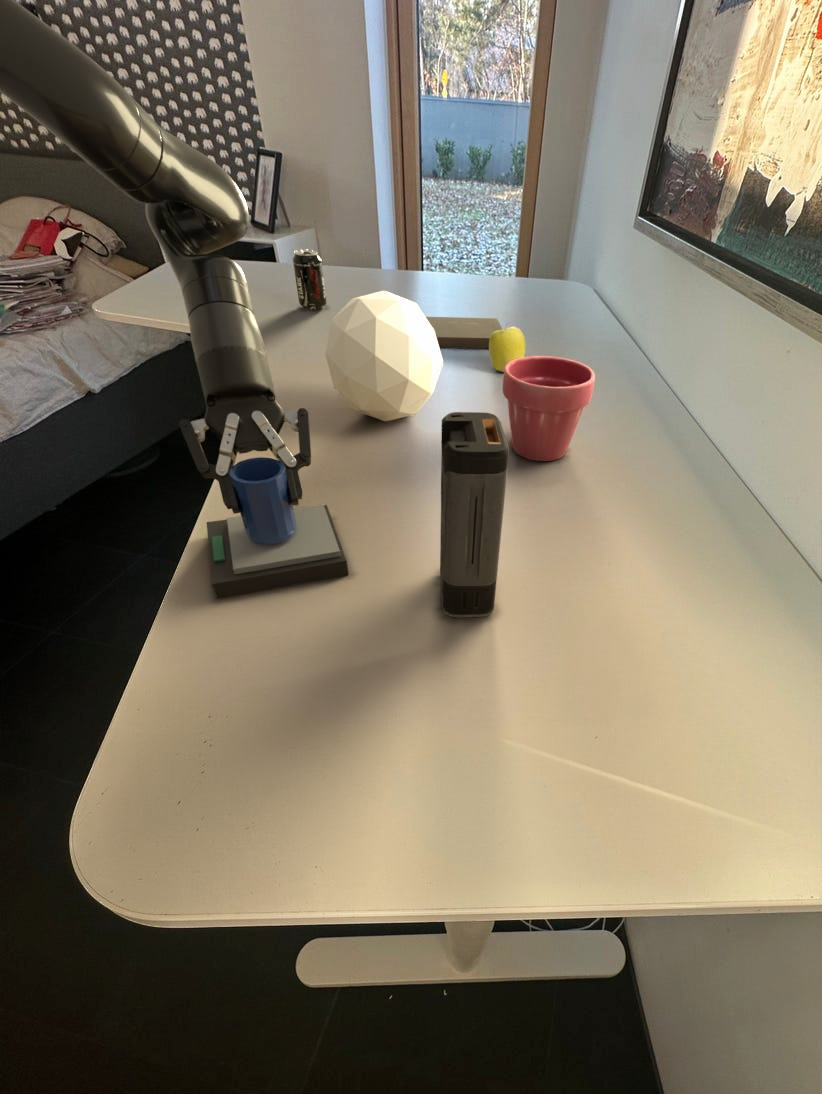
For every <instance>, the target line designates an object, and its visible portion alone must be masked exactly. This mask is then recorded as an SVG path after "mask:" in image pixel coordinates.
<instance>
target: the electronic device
mask: <svg viewBox="0 0 822 1094" xmlns="http://www.w3.org/2000/svg"><path fill="white" fill-rule="evenodd" d="M440 434H441V436H440V437H441V441H440V443H441V445H440V446H441V451H440V452H441V457H440V458H441V462H440V463H441V464H440V550H439V553H440V555H439V556H440V557H439V559H440V561H439V563H440V564H439V570H440V571H439V579H440V592H441V604H442V605H441V606H442V610H443V612H444V613H445V614H446V615H447V616H450V617H452V618H483V617H487V616H489V615H491V614H492V613H493V612H494V611H495V610H494V608H495V599H496V590H497V581H498V580H497V579H498V571H499V570H498V569H499V560H500V551H501V550H500V549H501V540H502V539H501V538H502V530H503V518H504V510H505V509H504V508H505V498H506V490H507V489H506V488H507V477H508V468H509V458H510V446H509V443H508V440H507V437H506V433H505V430H504V427H503V424H502V421H501V419H500V418H498V417H497V415H495V413H491V412H482V411H481V412H479V411H478V412H477V411H476V412H475V411H473V412H472V411H469V412H468V411H455V412H454V411H453V412H448V413H447V414H446V415H444V417H442V419H441V433H440Z"/></svg>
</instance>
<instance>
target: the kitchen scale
mask: <svg viewBox="0 0 822 1094" xmlns="http://www.w3.org/2000/svg"><path fill="white" fill-rule="evenodd" d="M293 510H294V515H295V520H296V526H297V530H296V533H295V534H294V536H292V537H291V538H290V539H288V540H286V541H284V542H281V543H277V544H259V543H256V542H253V541H251V540H250V539H249V538H248V536H247V533H246V531H245V527H244V524H243V520H242V516H241V515H238V516H230V517H226V519H220V520H212V521H206V531H207V532H206V533H207V543H208V553H209V556H208V557H209V567H210V577H211V586H212V588H213V592H214V594H215V597H216V599H217V600H218V599H225V598H230V597H235V596H241V595H246V594H253V593H257V592H264V591H268V590H269V591H270V590H275V589H280V588H285V587H290V586H295V585H301V584H306V583H312V582H317V581H322V580H323V581H324V580H328V579H333V578H334V579H335V578H339V577H345V576H349V568H348V561H347V557H346V554H345V552H344V550H343V546H342V544H341V541H340V538H339V535H338V533H337V530H336V527H335V525H334V522H333V518H332V516H331V513H330V511H329V508H328V505H327V504H324V503H321V504H320V503H319V504H313V505H307V506H299V507H293Z"/></svg>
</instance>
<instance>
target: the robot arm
mask: <svg viewBox="0 0 822 1094" xmlns="http://www.w3.org/2000/svg"><path fill="white" fill-rule="evenodd" d="M0 93H1V94H2V95H3V96H4V97H6V98H7V99H8V100H10V101H11V102H12V103H14V104H15V105H16V106H17V107H19V108H20V109H21V110H23V111H24V112H25V113H27V114H28V116H30V117H32V118H33V119H34V120H35V121H37V122H38V123H39V124H40V125H41V126H43V127H44V128H45V129H46V130H47V131H48V132H50V133H51V134H52V135H53V136H54V137H56V138H57V139H58V140H60V141H61V142H62V143H63V144H64V145H66V146H67V148H69V149H70V150H72V151H73V152H74V153H75V154H76V155H78V157H80V158H81V159H82V160H83V161H84V162H86V163H87V164H88V165H89V166H90V167H91V168H92V169H94V170H95V171H96V172H97V173H99V174H100V175H101V176H102V177H103V178H104V179H106V180H107V181H108V182H110V183H111V184H113V186H114V187H116V188H117V189H118V190H119V191H121V192H122V193H123V194H124V195H125V196H127V197H129V198H130V199H132V200H134V201H135V202H138V203H141V204H145V206H144V208H145V217H146V220H147V223H148V225H149V227H150V229H151V231H152V233H153V235H154V237H155V239H156V240H157V242H158V244H159V246H160V248H161V249H162V251H163V253H164V255H165V257H166V259H167V261H168V263H169V265H170V267H171V269H172V271H173V274H174V276H175V277H176V279H177V282H178V285H179V287H180V289H181V293H182V298H183V301H184V306H185V309H186V314H187V317H188V325H189V333H190V341H191V342H190V343H191V346H192V351H193V355H194V361H195V363H196V368H197V373H198V376H199V380H200V384H201V389H202V393H203V398H204V401H205V402H204V403H205V406H206V409H205V413H204V418H203V417H202V418H200V419H199V418H198V419H195V420H192V421H191V420H190V419H188V418H181V419H180V420H179V421H178V426H179V428H180V431H181V433H182V436H183V438H184V440H185V443H186V445H187V448H188V450H189V452H190V455H191V457H192V460H193V462H194V464H195V467H196V469H197V471H198V472H199V474H200V476H201V477H202V478H203V479H207V480H208V479H211V480H212V479H213V480H216V481H217V482H218V485H219V490H220V493H221V498H222V502H223V504H224V506H225V508H226V509H227V510H231V511H232V513H233V514H241V513H240V509H239V505H238V502H237V498H236V494H235V491H234V487H233V484H232V481H231V477H230V472H229V471H230V469H231V468H232V466H233V465H235V464H236V461H237V456H238V453H239V455H240V454H248V453H250V452H253V451H255V452H266V451H268V450H269V451H270V453H272V455H273V456H274V457H275V459H276V460H278V461H280V462H281V463H283V464H284V467H285V471H286V476H287V482H288V487H289V492H290V497H291V501H292V505H293V506H299V504H300V503H299V500H302V499H303V487H302V483H301V479H300V475H299V471H300V470H301V469H303V468H304V467H309V466H310V465H312V447H311V434H310V433H311V432H310V418H309V412H308V410H307V409H306V408H304V407H300V408H298V409H297V411H296V410H284V409H283V408H282V407H281V405H280V404H279V402H278V399H277V396H276V391H275V386H274V382H273V378H272V374H271V370H270V366H269V361H268V355H267V351H266V348H265V344H264V340H263V337H262V333H261V331H260V328H259V325H258V323H257V319H256V315H255V311H254V306H253V302H252V301H253V300H252V296H251V294H250V289H249V286H248V281H247V278H246V276H245V273H244V271H243V269H242V268H241V266H240V265H239V264H237V263H236V262H235V261H234V260H233V259H230V258H229V257H228V256H227V257H226V256H224V255H220V254H213V253H212V252H215V251H217V250H220V249H222V248H224V247H227V246H230V245H232V244H234V243H237V242H238V241H240V240H242V239H243V238H244V237H245V235H246V234H247V232H248V230H249V225H250V214H249V208H248V204H247V202H246V199H245V197H244V194H243V193H242V191H241V190H240V188H239V186H238V185H237V183H236V182H235V181H234V180H233V178H232V177H231V176H230V175H229V173H227V172H226V171H225V170H224V169H223V167H221V166H220V165H219V164H217V162H216V161H214V160H213V159H211V158H210V157H209V156H207V155H205V154H204V153H202V152H201V151H199V150H197V149H196V148H195V147H192V146H191V145H189V144H187V143H186V142H184V141H183V140H182V139H180V138H178V137H177V136H175V135H173V134H171V133H170V132H169V131H167V130H165V129H164V128H162V127H161V126H160V124H158V123H157V122H156V121H155V120H154V119H153V118H152V117H151V116H150V115H149V114H148V113H147V111H146V110H145V109H144V108H143V107H142V106H141V105H140V104H139V103H138V102H137V101H136V100H135V99H134V98H133V97H132V95H130V94H129V92H128V91H127V90H126V89H125V88H124V87H123V86H122V85H121V84H120V83H119V82H118V81H117V80H116V79H115V78H114V77H113V76H112V75H111V74H110V73H109V72H108V71H106V70H105V69H104V68H103V67H102V66H101V65H100V64H98V63H97V62H96V61H95V60H94V59H93V58H91V57H90V56H89V55H88V54H86V53H85V52H84V51H82V50H81V49H80V48H79V47H77V46H76V45H75V44H73V43H72V42H71V41H70V40H69V39H67V38H66V37H65V36H63V35H62V34H61V33H59V32H58V31H57V30H55V29H53V28H52V27H51V26H50V25H48V24H47V23H46V22H45V21H43V20H42V19H40V18H39V17H38V16H36V15H35V14H34V13H32V12H31V11H29V10H28V9H27V8H26V7H25V6H23V5H22V4H20V3H19V2H17V0H0ZM285 423H288V424H289V425H290V429H291V430H292V431H293V432H295V433H297V434H298V446H299V447H298V448H299V452H298V453H296V454H294V455H293V454H292V453H291V451H290V450H289V449H288V448H287V445H286V443H285V442H284V441H283V440H282V438H281V437H280V436H279V434H280V432H281V430H282V429H283V427H284V424H285ZM208 430H209V431H210V432H211V433H212V434H213V435H214V436H215V437H216V438H218V439H219V440H220V446H219V450H218V452H219V453H218V458H217V462H216V464H214V463H209V461H208V460H207V459H208V458H207V457H206V453H205V452H204V450H203V447H202V445H201V443H202V442H204V441H205V440H206V435H205V434H206V432H207V431H208Z"/></svg>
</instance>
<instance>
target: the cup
mask: <svg viewBox="0 0 822 1094" xmlns="http://www.w3.org/2000/svg"><path fill="white" fill-rule="evenodd" d="M229 472H230V477H231V481H232V484H233V487H234V491H235V494H236V498H237V502H238V505H239V509H240V513H239V514H240V516H242V520H243V524H244V527H245V531H246V533H247V536H248V538H249V539H250V540H251V541H253V542H256V543H259V544H277V543H281V542H284V541H286V540H288V539H290V538H291V537H292V536H294V534H295V533H296V530H297V526H296V520H295V515H294V510H293V508H294V505H292V501H291V497H290V492H289V487H288V482H287V476H286V471H285V467H284V464H283V463H281V462H280V461H279V460H278V459H277V458H271V457H261V456H258V457H251V458H247V459H243V460H240V461H238V462H237V463H235V464H234V465H233V466H232V468H231V469H230V471H229Z"/></svg>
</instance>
